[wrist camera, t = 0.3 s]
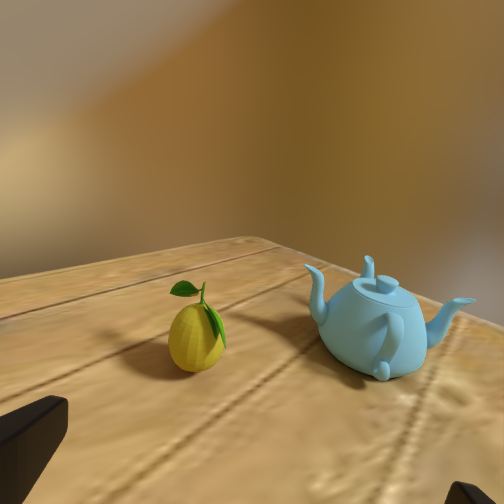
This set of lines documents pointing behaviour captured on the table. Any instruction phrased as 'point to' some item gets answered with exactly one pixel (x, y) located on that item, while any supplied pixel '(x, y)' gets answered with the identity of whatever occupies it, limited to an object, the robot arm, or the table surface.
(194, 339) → the lemon
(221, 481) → the table surface
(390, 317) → the teapot
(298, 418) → the table surface
